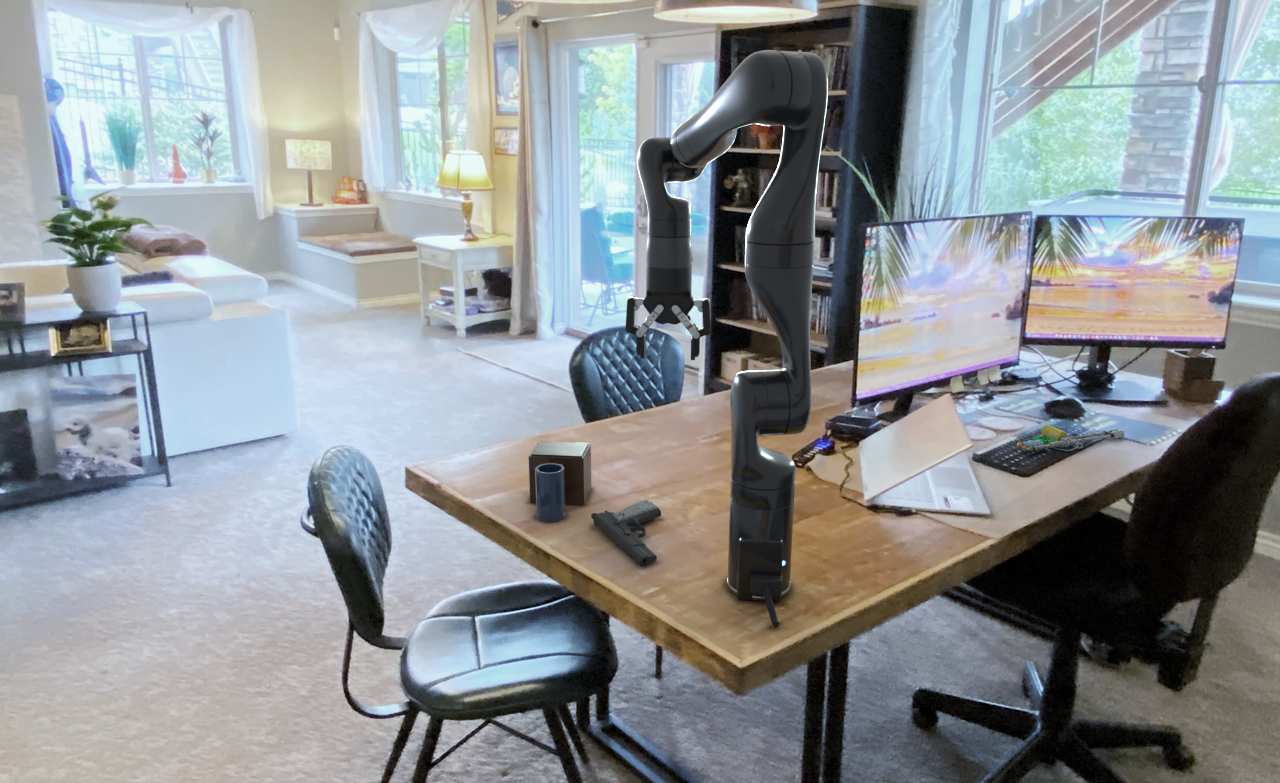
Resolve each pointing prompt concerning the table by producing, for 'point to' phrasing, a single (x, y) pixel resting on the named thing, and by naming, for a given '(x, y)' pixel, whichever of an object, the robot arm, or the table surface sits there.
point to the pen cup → (550, 492)
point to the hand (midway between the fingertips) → (668, 358)
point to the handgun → (629, 528)
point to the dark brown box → (574, 462)
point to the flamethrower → (1064, 439)
